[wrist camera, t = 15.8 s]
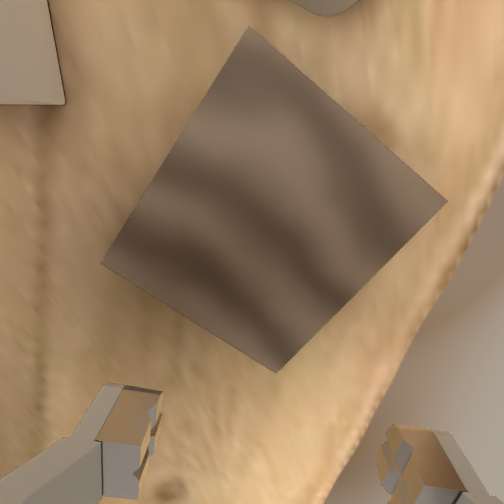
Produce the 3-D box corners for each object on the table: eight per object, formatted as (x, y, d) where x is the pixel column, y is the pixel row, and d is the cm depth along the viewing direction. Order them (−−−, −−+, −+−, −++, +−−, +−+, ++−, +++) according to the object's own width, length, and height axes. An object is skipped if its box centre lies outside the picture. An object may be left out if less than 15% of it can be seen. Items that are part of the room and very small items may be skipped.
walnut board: (275, 362, 31) (276, 373, 29) (108, 256, 27) (100, 263, 26) (437, 197, 24) (448, 201, 23) (249, 32, 21) (248, 25, 20)
